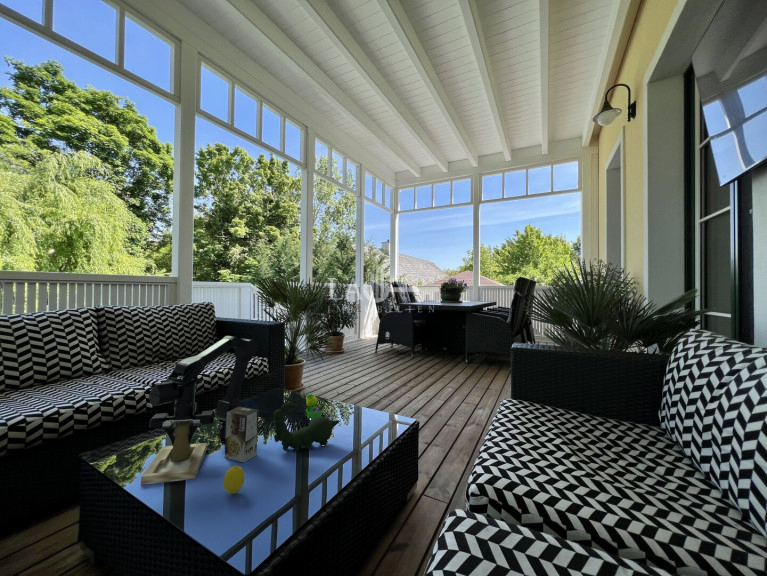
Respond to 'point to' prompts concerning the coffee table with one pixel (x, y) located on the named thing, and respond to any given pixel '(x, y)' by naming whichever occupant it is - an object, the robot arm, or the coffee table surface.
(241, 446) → the coffee box
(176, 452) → the cork
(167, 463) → the keyhole plate
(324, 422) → the toy figurine
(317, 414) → the fruit basket
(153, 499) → the coffee table surface
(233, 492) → the lemon
